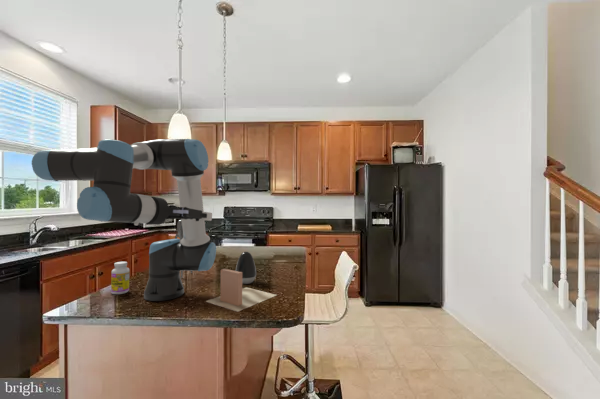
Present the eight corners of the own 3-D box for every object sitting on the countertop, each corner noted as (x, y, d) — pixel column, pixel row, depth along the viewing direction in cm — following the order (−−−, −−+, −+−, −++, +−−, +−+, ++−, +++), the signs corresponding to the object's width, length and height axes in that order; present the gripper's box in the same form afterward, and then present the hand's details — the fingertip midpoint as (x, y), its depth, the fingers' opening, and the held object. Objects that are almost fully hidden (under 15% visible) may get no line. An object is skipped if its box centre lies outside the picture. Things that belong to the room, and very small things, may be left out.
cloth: (237, 313, 98) (237, 311, 98) (205, 303, 109) (205, 301, 109) (277, 296, 117) (277, 294, 117) (246, 289, 127) (246, 287, 127)
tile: (238, 305, 104) (238, 273, 104) (220, 300, 110) (220, 269, 110) (242, 304, 106) (242, 272, 106) (224, 298, 112) (224, 268, 112)
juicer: (192, 273, 154) (193, 219, 155) (182, 278, 143) (182, 220, 144) (175, 272, 155) (176, 218, 156) (164, 278, 144) (164, 220, 145)
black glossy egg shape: (255, 279, 143) (255, 249, 143) (256, 285, 133) (257, 253, 133) (235, 280, 141) (235, 250, 141) (234, 286, 131) (235, 253, 131)
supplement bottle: (107, 294, 118) (107, 264, 118) (118, 289, 125) (118, 260, 125) (122, 294, 118) (122, 264, 118) (132, 290, 125) (133, 261, 125)
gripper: (130, 224, 78) (195, 227, 99) (163, 223, 72) (224, 227, 93) (133, 197, 79) (196, 206, 100) (165, 194, 73) (225, 205, 94)
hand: (210, 216), depth 97 cm, fingers closed
